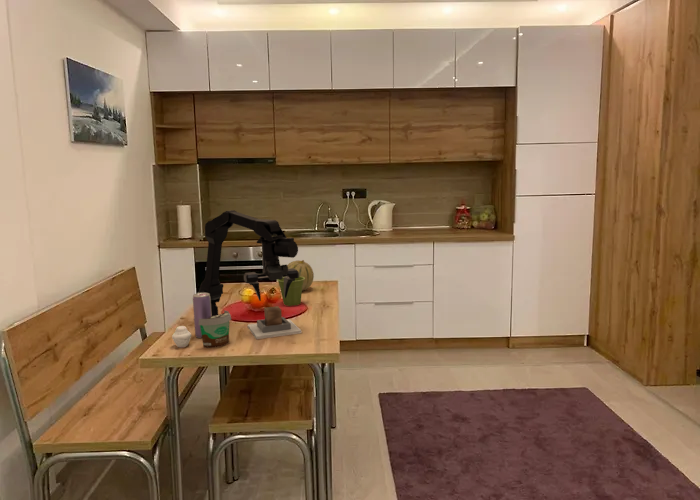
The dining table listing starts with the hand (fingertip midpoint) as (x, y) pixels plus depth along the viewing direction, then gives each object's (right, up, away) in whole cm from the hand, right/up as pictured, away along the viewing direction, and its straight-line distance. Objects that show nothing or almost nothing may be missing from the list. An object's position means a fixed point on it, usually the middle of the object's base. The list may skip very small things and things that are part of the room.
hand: (272, 299), depth 190 cm
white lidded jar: (-28, -15, -13) cm, 34 cm away
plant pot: (+3, -6, +39) cm, 39 cm away
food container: (-15, -14, -13) cm, 25 cm away
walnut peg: (0, -10, +2) cm, 10 cm away
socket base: (0, -11, +2) cm, 12 cm away
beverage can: (-24, -13, -3) cm, 27 cm away
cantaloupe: (+3, -2, +65) cm, 65 cm away
